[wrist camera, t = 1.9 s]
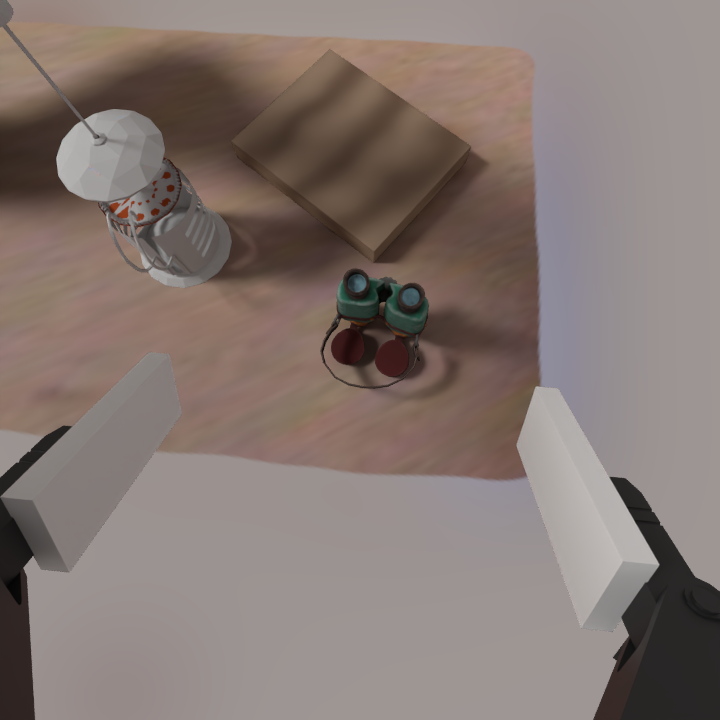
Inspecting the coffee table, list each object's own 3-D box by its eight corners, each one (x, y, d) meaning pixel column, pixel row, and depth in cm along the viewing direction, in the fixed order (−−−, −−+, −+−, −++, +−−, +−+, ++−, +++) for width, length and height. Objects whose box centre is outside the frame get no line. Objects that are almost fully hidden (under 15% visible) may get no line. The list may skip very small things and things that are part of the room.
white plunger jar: (231, 200, 46) (82, -90, 22) (232, 299, 43) (65, 96, 19) (141, 208, 46) (-110, -76, 22) (137, 307, 43) (-154, 112, 19)
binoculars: (301, 367, 32) (337, 245, 33) (319, 379, 42) (346, 286, 43) (416, 398, 31) (448, 272, 32) (406, 402, 41) (430, 308, 43)
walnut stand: (237, 157, 47) (230, 140, 45) (331, 68, 50) (329, 48, 48) (373, 262, 44) (374, 251, 42) (465, 162, 47) (471, 146, 44)
